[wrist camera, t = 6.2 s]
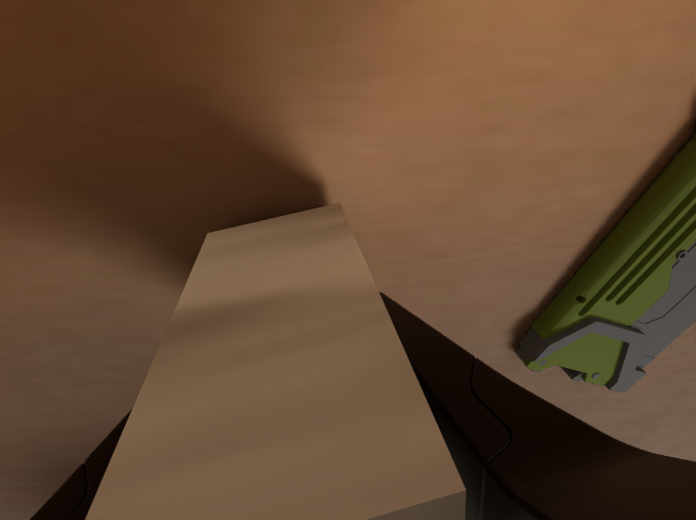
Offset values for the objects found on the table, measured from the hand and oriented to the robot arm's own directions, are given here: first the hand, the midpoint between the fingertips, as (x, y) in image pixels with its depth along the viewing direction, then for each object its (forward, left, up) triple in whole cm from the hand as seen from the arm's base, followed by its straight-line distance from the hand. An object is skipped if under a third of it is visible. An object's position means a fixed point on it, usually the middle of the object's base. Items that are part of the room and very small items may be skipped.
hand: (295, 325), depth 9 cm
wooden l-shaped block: (-6, 0, -2) cm, 7 cm away
